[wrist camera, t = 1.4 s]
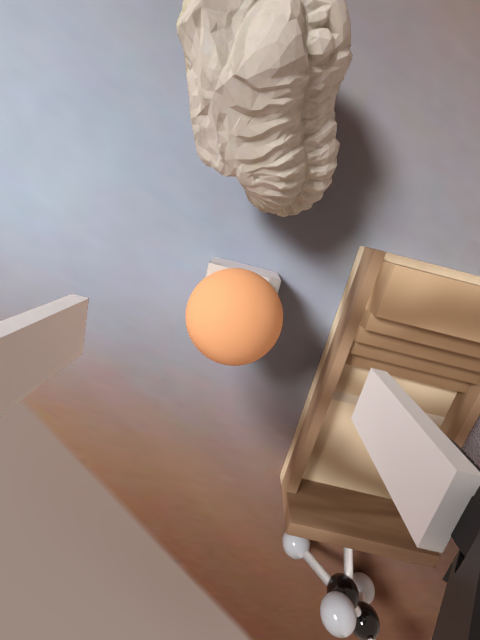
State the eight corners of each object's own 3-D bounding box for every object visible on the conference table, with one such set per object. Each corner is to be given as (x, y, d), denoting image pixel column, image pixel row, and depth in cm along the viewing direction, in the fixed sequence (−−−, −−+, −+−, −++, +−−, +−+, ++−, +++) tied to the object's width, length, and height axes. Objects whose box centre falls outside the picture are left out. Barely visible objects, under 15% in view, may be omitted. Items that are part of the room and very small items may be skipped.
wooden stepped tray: (360, 245, 25) (393, 253, 19) (509, 284, 25) (587, 303, 20) (280, 475, 31) (286, 534, 26) (400, 503, 32) (434, 567, 26)
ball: (204, 252, 22) (187, 264, 17) (289, 274, 23) (302, 293, 17) (187, 333, 24) (166, 368, 18) (266, 353, 24) (270, 394, 19)
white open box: (215, 256, 26) (209, 262, 22) (277, 272, 26) (281, 281, 22) (201, 316, 27) (194, 331, 24) (260, 331, 27) (262, 348, 24)
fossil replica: (326, 213, 25) (373, 210, 15) (215, 222, 25) (191, 224, 15) (326, 15, 21) (386, -154, 12) (197, 30, 22) (151, -120, 12)
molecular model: (350, 493, 32) (395, 622, 22) (403, 573, 35) (465, 721, 24) (276, 526, 33) (286, 661, 23) (332, 600, 36) (363, 750, 26)
